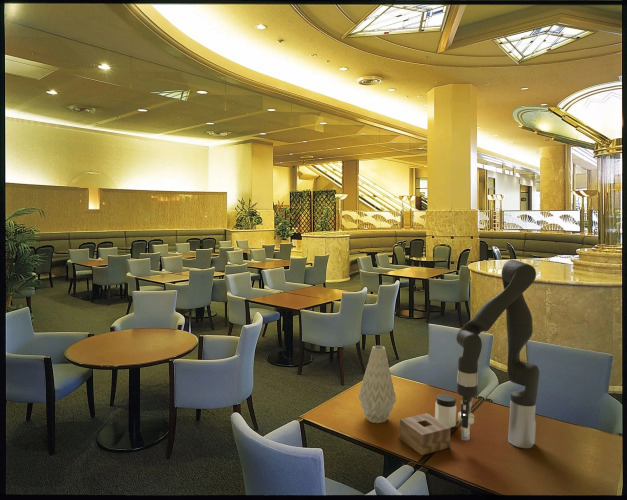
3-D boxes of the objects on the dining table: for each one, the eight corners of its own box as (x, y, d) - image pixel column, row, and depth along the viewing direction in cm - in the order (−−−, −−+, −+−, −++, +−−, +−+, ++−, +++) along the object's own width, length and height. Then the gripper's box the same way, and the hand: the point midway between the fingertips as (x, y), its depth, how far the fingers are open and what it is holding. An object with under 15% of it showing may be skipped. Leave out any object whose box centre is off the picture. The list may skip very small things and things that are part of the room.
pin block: (426, 431, 187) (427, 413, 187) (449, 447, 175) (450, 427, 174) (399, 438, 181) (400, 419, 181) (421, 455, 169) (422, 435, 168)
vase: (378, 431, 186) (381, 355, 183) (350, 417, 199) (352, 346, 196) (403, 420, 197) (405, 348, 194) (375, 407, 210) (376, 339, 207)
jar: (457, 428, 190) (459, 401, 189) (439, 428, 190) (440, 401, 189) (450, 419, 199) (451, 393, 198) (432, 419, 199) (433, 393, 198)
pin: (465, 433, 176) (466, 410, 175) (476, 440, 170) (477, 416, 169) (453, 436, 173) (454, 412, 172) (465, 443, 168) (465, 419, 167)
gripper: (459, 373, 178) (458, 413, 179) (454, 387, 165) (453, 430, 166) (479, 377, 174) (477, 417, 176) (475, 390, 161) (474, 434, 163)
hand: (465, 423), depth 171 cm, fingers closed on pin, 6 cm apart
